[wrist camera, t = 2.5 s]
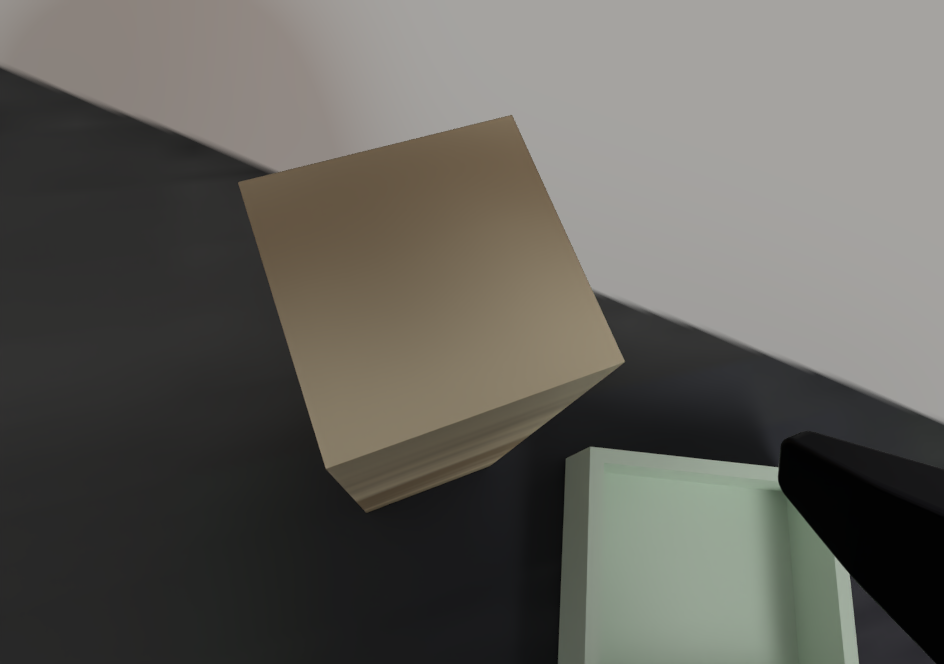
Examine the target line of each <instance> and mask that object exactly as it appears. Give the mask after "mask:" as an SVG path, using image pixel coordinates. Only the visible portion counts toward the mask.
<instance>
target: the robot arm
mask: <svg viewBox="0 0 944 664" xmlns="http://www.w3.org/2000/svg"><path fill="white" fill-rule="evenodd" d="M778 483H779V486H780V488H781V490H782V492H783V493H784V495H785V496H786V497H787V499H788V500H789V501H790V502H791V503H792V505H793V506H794V507H795V508H796V510H797V511H798V512H799V513H800V515H801V516H802V517H803V518H804V519H805V521H806V522H807V523H808V524H809V526H810V527H811V528H812V529H813V531H814V532H815V533H816V534H817V535H818V537H819V538H820V539H821V540H822V542H823V543H824V544H825V545H826V546H827V548H828V549H829V550H830V551H831V553H832V554H833V555H834V556H835V558H836V559H837V560H838V561H839V562H840V564H841V565H842V566H843V567H844V568H845V569H846V571H847V572H848V573H849V574H850V575H851V576H852V577H853V578H854V580H855V581H856V582H857V583H858V584H859V585H860V586H861V587H862V588H863V589H864V590H865V591H866V592H867V593H868V594H869V595H870V596H871V597H872V598H873V599H874V600H875V601H876V602H877V603H878V605H879V606H880V607H881V608H882V609H883V610H884V611H885V612H886V613H887V614H888V615H889V616H890V617H891V618H892V619H893V620H894V621H895V622H896V623H897V624H898V625H899V626H900V627H901V628H902V629H903V630H904V631H905V632H906V633H907V634H908V635H909V636H910V637H911V638H912V639H913V640H914V641H915V642H916V643H917V644H918V646H919V647H920V648H921V649H922V650H923V651H924V652H925V653H926V654H927V655H928V656H929V657H930V658H931V659H932V660H933V661H934V662H935V663H936V664H944V469H941V468H938V467H934V466H931V465H927V464H924V463H920V462H917V461H913V460H910V459H906V458H903V457H900V456H896V455H893V454H889V453H886V452H882V451H879V450H875V449H872V448H868V447H865V446H861V445H858V444H854V443H851V442H847V441H844V440H840V439H837V438H833V437H830V436H826V435H823V434H819V433H816V432H812V431H803V432H800V433H798V434H795V435H793V436H791V437H788V438H786V439H785V440H784V441H783V442H782V444H781V448H780V458H779V468H778Z"/></svg>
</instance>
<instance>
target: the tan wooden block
mask: <svg viewBox="0 0 944 664" xmlns="http://www.w3.org/2000/svg"><path fill="white" fill-rule="evenodd" d="M238 184H239V187H240V190H241V194H242V197H243V200H244V203H245V207H246V210H247V213H248V216H249V220H250V223H251V226H252V230H253V233H254V236H255V239H256V243H257V246H258V249H259V252H260V256H261V259H262V262H263V265H264V269H265V272H266V275H267V278H268V282H269V285H270V288H271V292H272V295H273V298H274V301H275V305H276V308H277V311H278V314H279V318H280V321H281V324H282V327H283V331H284V334H285V337H286V340H287V344H288V347H289V350H290V354H291V357H292V360H293V363H294V367H295V370H296V373H297V376H298V380H299V383H300V386H301V389H302V393H303V396H304V399H305V402H306V406H307V409H308V412H309V416H310V419H311V422H312V425H313V429H314V432H315V435H316V438H317V442H318V445H319V448H320V451H321V455H322V458H323V461H324V464H325V468H326V470H327V471H328V472H329V473H330V474H331V475H332V476H333V477H334V478H335V479H336V480H337V482H338V483H339V484H340V485H341V486H342V487H343V488H344V489H345V490H346V491H347V492H348V493H349V494H350V496H351V497H352V498H353V499H354V500H355V501H356V502H357V503H358V504H359V505H360V506H361V507H362V509H363V510H364V511H365V512H366V513H368V512H370V511H373V510H375V509H378V508H381V507H383V506H386V505H389V504H391V503H394V502H397V501H399V500H402V499H404V498H407V497H410V496H412V495H415V494H418V493H420V492H423V491H426V490H428V489H431V488H433V487H436V486H439V485H441V484H444V483H447V482H449V481H452V480H455V479H457V478H460V477H462V476H465V475H468V474H470V473H473V472H476V471H478V470H481V469H484V468H486V467H489V466H491V465H492V464H493V463H495V462H496V461H497V460H498V459H500V458H501V457H502V456H504V455H505V454H506V453H508V452H509V451H510V450H511V449H513V448H514V447H515V446H517V445H518V444H519V443H520V442H522V441H523V440H524V439H526V438H527V437H528V436H530V435H531V434H532V433H533V432H535V431H536V430H537V429H539V428H540V427H541V426H543V425H544V424H545V423H546V422H548V421H549V420H550V419H552V418H553V417H554V416H556V415H557V414H558V413H559V412H561V411H562V410H563V409H565V408H566V407H567V406H568V405H570V404H571V403H572V402H574V401H575V400H576V399H578V398H579V397H580V396H581V395H583V394H584V393H585V392H587V391H588V390H589V389H591V388H592V387H593V386H594V385H596V384H597V383H598V382H600V381H601V380H602V379H604V378H605V377H606V376H607V375H609V374H610V373H611V372H613V371H614V370H615V369H617V368H618V367H619V366H620V365H622V364H623V363H624V362H625V361H624V359H623V357H622V354H621V352H620V350H619V348H618V346H617V343H616V341H615V339H614V337H613V335H612V333H611V330H610V328H609V326H608V324H607V322H606V319H605V317H604V315H603V313H602V311H601V308H600V306H599V304H598V302H597V300H596V298H595V295H594V293H593V291H592V289H591V287H590V285H589V282H588V280H587V278H586V276H585V274H584V271H583V269H582V267H581V265H580V263H579V260H578V258H577V256H576V254H575V252H574V250H573V247H572V245H571V243H570V241H569V239H568V236H567V234H566V232H565V230H564V228H563V226H562V224H561V221H560V219H559V217H558V215H557V212H556V210H555V208H554V206H553V204H552V201H551V199H550V197H549V195H548V193H547V191H546V188H545V186H544V184H543V182H542V180H541V178H540V175H539V173H538V171H537V169H536V166H535V164H534V162H533V160H532V158H531V156H530V153H529V151H528V149H527V147H526V145H525V142H524V140H523V138H522V136H521V134H520V132H519V129H518V127H517V125H516V123H515V121H514V118H513V116H512V115H510V116H506V117H502V118H498V119H494V120H489V121H485V122H481V123H477V124H474V125H469V126H465V127H461V128H457V129H453V130H449V131H445V132H441V133H436V134H433V135H429V136H425V137H420V138H416V139H412V140H409V141H404V142H400V143H396V144H392V145H388V146H384V147H380V148H375V149H371V150H368V151H363V152H359V153H355V154H351V155H347V156H343V157H339V158H335V159H331V160H327V161H323V162H319V163H314V164H311V165H307V166H303V167H298V168H294V169H290V170H286V171H282V172H278V173H274V174H270V175H266V176H262V177H257V178H253V179H249V180H245V181H241V182H238Z"/></svg>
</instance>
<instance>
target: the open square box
mask: <svg viewBox="0 0 944 664" xmlns="http://www.w3.org/2000/svg"><path fill="white" fill-rule="evenodd" d="M778 468H779V467H770V466H761V465H752V464H743V463H734V462H724V461H715V460H706V459H697V458H688V457H679V456H670V455H661V454H652V453H643V452H634V451H625V450H616V449H607V448H598V447H589V448H587V449H584V450H582V451H580V452H578V453H576V454H574V455H572V456H570V457H568V458H566V467H565V493H564V519H563V545H562V570H561V596H560V622H559V648H558V664H859V660H858V650H857V641H856V631H855V621H854V612H853V602H852V593H851V583H850V574H849V573H848V572H847V571H846V569H845V568H844V567H843V566H842V565H841V564H840V562H839V561H838V560H837V559H836V558H835V556H834V555H833V554H832V553H831V551H830V550H829V549H828V548H827V546H826V545H825V544H824V543H823V542H822V540H821V539H820V538H819V537H818V535H817V534H816V533H815V532H814V531H813V529H812V528H811V527H810V526H809V524H808V523H807V522H806V521H805V519H804V518H803V517H802V516H801V515H800V513H799V512H798V511H797V510H796V508H795V507H794V506H793V505H792V503H791V502H790V501H789V500H788V499H787V497H786V496H785V495H784V493H783V492H782V490H781V488H780V486H779V483H778Z"/></svg>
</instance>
